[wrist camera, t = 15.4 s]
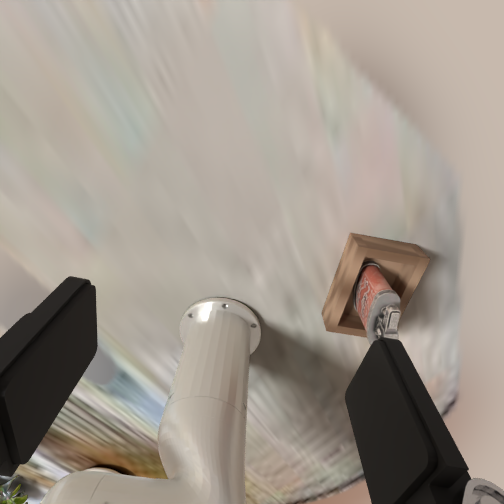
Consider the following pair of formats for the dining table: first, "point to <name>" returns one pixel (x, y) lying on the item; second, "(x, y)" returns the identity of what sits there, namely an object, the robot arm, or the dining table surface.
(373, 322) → the lighter
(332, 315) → the lighter dock
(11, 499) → the green leafy plant
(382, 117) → the dining table surface
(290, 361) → the dining table surface
